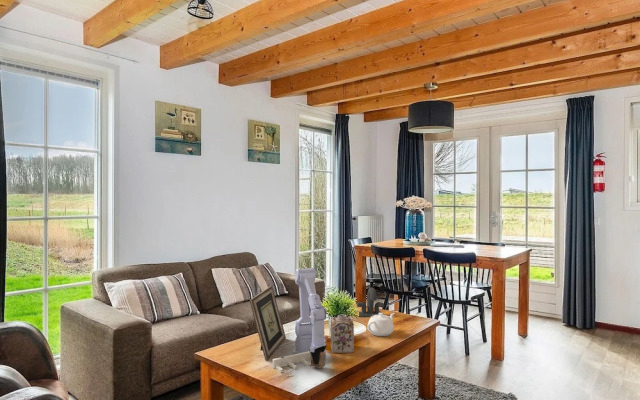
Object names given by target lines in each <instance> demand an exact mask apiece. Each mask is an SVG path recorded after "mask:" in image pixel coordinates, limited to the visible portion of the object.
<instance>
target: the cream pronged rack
mask: <svg viewBox="0 0 640 400" xmlns="http://www.w3.org/2000/svg"><path fill="white" fill-rule="evenodd" d="M310 361H311V353H310V352H309V351H307V352H303V353H298V354H297V353H295V354H289V355H285V356H284V355H280V356H279V357H277V358H273V359H272V367H271V368H273V369H275V370H276V371H278V372H279V373H280V374H282V373H284V369H283V368H282V367H287V366H289V367H291V368H292V369H293V370H297V369H298V366H297V364H300V363H301V364H303V365H305V366H307V367H311V366H310Z"/></svg>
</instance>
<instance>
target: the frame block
mask: <svg viewBox="0 0 640 400" xmlns="http://www.w3.org/2000/svg"><path fill="white" fill-rule="evenodd" d="M326 358H327V355H326V351H324V352H321V353H320V357H319V363H318V364H314V363H313V358H312V355H311V360H310V361H309V363H310V366H309V367H313V368H314V367H315V368H318V369H323V368H324V367H325V366H326Z"/></svg>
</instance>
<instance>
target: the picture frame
mask: <svg viewBox="0 0 640 400" xmlns="http://www.w3.org/2000/svg"><path fill="white" fill-rule="evenodd" d="M249 302H250V308H251V312H252V315H253V319H254V323H255V327H256V330H257V334H258V338H259V342H260V351H261V350H262V353H263V357H264V360H265V361H267V360H269V359H270V358H271V356H272V355H273V354H274V353H275V352H276V350H277V349H278V348H279V347H280V346H281V345H282V344H283V343H284V341H285V340H286V339H287V338H286V337H287V336H286V333H285V329H284V326H283V325H284V324H283V321H282V319H281V313H280V310H279V306H278V303H277V299H276V295H275V290H274V289H273V285H270V286H268V287H267V288H265V289H264V290H262V291H260V293H259V292H258V294H256V295H255V296H253V297H252V298H250V299H249Z"/></svg>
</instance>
